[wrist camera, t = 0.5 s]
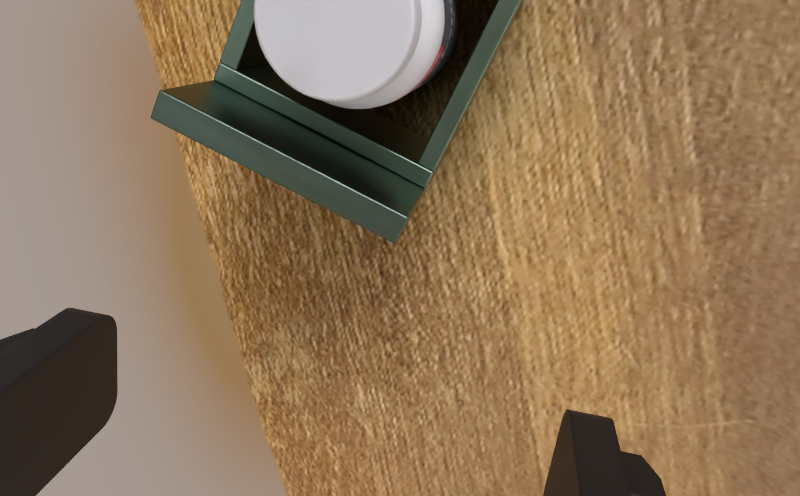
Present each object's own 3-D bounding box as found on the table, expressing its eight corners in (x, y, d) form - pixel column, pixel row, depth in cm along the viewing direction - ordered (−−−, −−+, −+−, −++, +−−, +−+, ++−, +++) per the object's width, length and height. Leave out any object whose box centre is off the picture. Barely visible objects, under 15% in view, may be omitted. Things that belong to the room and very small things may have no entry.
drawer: (340, -138, 27) (259, -210, 19) (541, -35, 27) (550, -62, 18) (252, 91, 30) (149, 118, 22) (430, 182, 30) (395, 244, 22)
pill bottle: (445, 104, 29) (409, 143, 20) (316, 76, 30) (223, 100, 20) (476, -40, 27) (453, -72, 18) (338, -68, 28) (246, -113, 18)
